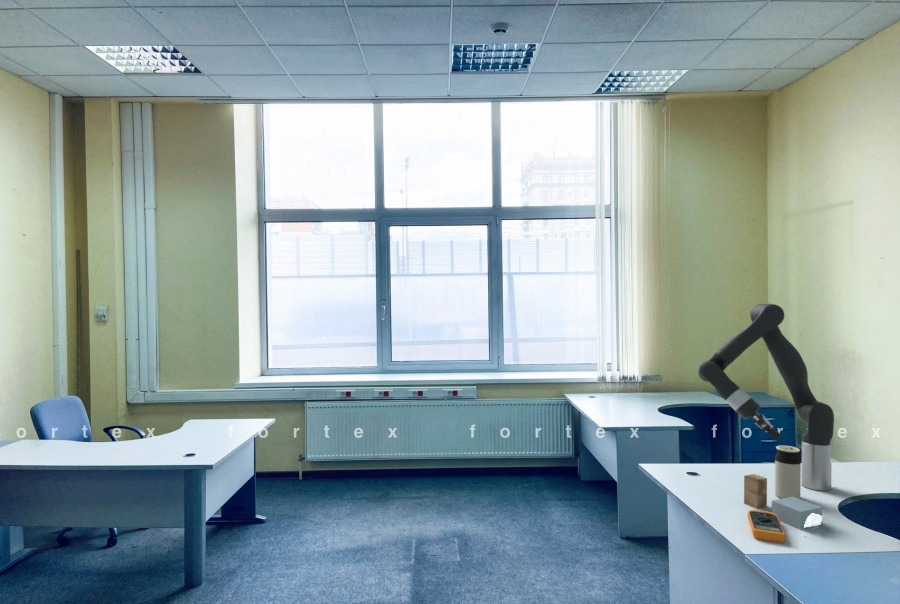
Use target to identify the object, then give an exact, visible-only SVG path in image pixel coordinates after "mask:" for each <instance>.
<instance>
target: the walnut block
mask: <svg viewBox="0 0 900 604" xmlns="http://www.w3.org/2000/svg"><path fill="white" fill-rule="evenodd" d="M743 488H744V489H743V503H744V505H747V506H750V507H752V508H755V510H758V509H761V508H767V507H768V492H767V491H768V478H767V477H764V476H761V475H758V474H756V473H752V474H747V475H746V474H745V475H744V477H743Z"/></svg>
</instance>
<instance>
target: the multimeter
mask: <svg viewBox="0 0 900 604" xmlns="http://www.w3.org/2000/svg"><path fill="white" fill-rule="evenodd" d="M747 520H748V522H749V525H750V528H751V532H752V536H753V539H756V540H761V541H767V542H773V543H780V544H783V543H784V542H785V541H786V532H785V531H784V529H783V527H782V524H781V521H779V518H778V516H777V515H776V514H774V513H772V511H771V512H770V511H767V510H759V509H750V510H748V511H747Z"/></svg>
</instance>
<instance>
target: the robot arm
mask: <svg viewBox="0 0 900 604" xmlns="http://www.w3.org/2000/svg"><path fill="white" fill-rule="evenodd" d="M749 314H750V315H749V316H750V320H751V322H752V323H750V324H749V325H748V326H747V327H746V328H745V329H743V330H741V331H740V332H738V333H736V334H735V335H733V336H731V337H730V338H729V339H727V340H726V341H724V343H723V344H722V345H721V346H720V347H718V349H716V350H715V352H714V353H713V355H712V356H711V357H710V358H709V359H708V360H705V361H703V362H701V364H700V365H699V367H698V372H697V373H698V377H699V378H700V379H701V381H703V382H707V383H710V385H712V387H714V389H715V391H716V393H717V394H718V395H719V396H720V397H722V399H723V400H724V401H725V402H726V403H727V404H728V405H729V406H730V407H731V409H733V410H734V412H735V413H737V414H738V415H739V416H740V417H741V419H743V420H748V419H749V418H750V417H751V420H752V421H753V423H754V424H755V425H756V426H757V427H758V428H760V429H761V430H763V431H764V432H765V433H768V435H770V436H771V438H773V439H774V440H775V441H778V440H779V439H781V437H782V434H781V433H780V432H779V431H778V430H777V429H776V428H774V426H773V424H772V423H771V422H770V421H769V420H768V419H767V418H766V416H765V415H764V414H762V413H758V410H760V409H761V405H760V404H759V403H758V402H757V401H756V400H754V399H753V398H752V397H751V396H750V395H749V394H748V393H747V392H746V391H745V390H743V389H742V388H740V387H739V385H738V384H736V383H735V382H734V381H733V380H732V379H731V378H730V377H729V376H728V375H727V374H726V372H725V370H726V369H727V368H728V366H730V365H731V364H733V363H734V361H735V360H736V359H738V358H739V356H741V355H742V354H743V353H744V352H745V351H746V350H748V348H750V347H751V346H752V345H753V344H755V343H756V342H757V341H758V340H759V339H761V338H762V341H763V342H764V343H765V345H766V347H767V350H768V352H769V353H770V355H771V357H772V360H773V362H774V364H775V366H776V369H777V370H778V372H779V373H780V376H781V378H782V380H783V382H784V384H785V385H786V387H787V389H788V391H789V393H790V396H791V398H792V400H793V403H794V406H795V410H796V411H797V414H798V416H799V417H800V418H801V420H802V421H804V422H806V423H807V431H806V432H803V433H802V434H801V486H803V487H804V488H807V489H809V490H815V491H822V492H823V491H824V492H825V491H830V490H831V488H832V462H831V441H832V439H833V436H834V429H835V428H834V427H835V426H834V425H835V414H834V411H833V408H832V407H831V406H830V405H828V404H827V403H825V402H822V401H818V400H817V399H816V397H815V396H814V394H813V392H812V390H811V388H810V386H809V379H808V368H807V366H806V363H805V361H804V359H803V357H802V356H801V353H800V352H799V351H798V349H797V348H796V347H795V346H794V344H792V343H791V342H790V341H789V340H788V339H787V337H786V336H785V335H784V334H783V333H782V331H781V329H780V327H779V326H780V325H781V324H782V323H783V321H784V320H785V312H784V309H783V308H782V307H781V306H779V305H778V304H774V303H760V304H756V305H754V306H753V307H752V308H751V310H750V313H749Z"/></svg>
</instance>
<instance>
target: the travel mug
mask: <svg viewBox="0 0 900 604" xmlns="http://www.w3.org/2000/svg"><path fill="white" fill-rule="evenodd" d="M775 448H776V451H777V452H776V454H775V456H774V460H775V461H774V465H775V466H774V495H775V496H776V497H778V498H779V499H782V498H788V497H796V498H798V499H801V486H802V457H801V456H800V455H799V454H800V452H801V449H800V448H798V447H795V446H791V445H777V446H775Z"/></svg>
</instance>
